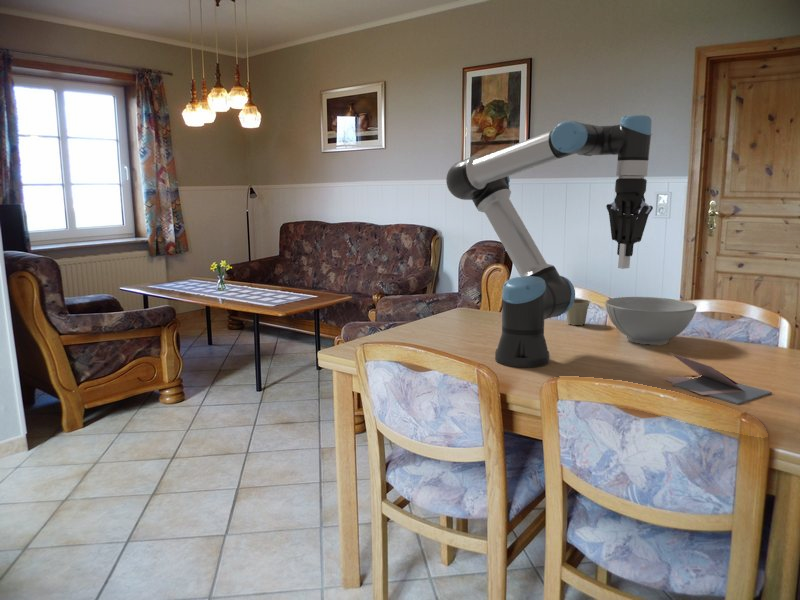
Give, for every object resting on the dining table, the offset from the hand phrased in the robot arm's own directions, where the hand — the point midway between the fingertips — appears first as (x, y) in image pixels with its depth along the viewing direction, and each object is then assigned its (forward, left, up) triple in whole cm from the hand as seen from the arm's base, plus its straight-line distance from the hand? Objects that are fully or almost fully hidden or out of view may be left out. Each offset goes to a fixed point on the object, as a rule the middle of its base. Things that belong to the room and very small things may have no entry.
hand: (623, 267), depth 158 cm
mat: (+3, -27, -27) cm, 38 cm away
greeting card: (+5, -15, -26) cm, 30 cm away
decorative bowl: (+31, +14, -27) cm, 44 cm away
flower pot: (+31, +44, -27) cm, 61 cm away
